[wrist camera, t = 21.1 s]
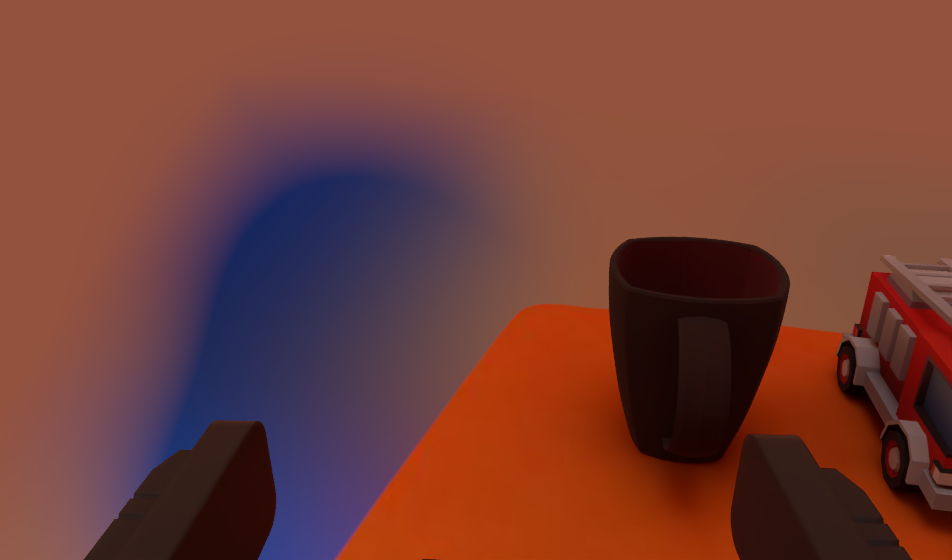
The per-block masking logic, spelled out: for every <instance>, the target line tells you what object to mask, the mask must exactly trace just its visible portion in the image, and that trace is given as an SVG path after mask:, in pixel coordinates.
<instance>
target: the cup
mask: <svg viewBox="0 0 952 560" xmlns="http://www.w3.org/2000/svg"><path fill="white" fill-rule="evenodd" d="M789 287H790V280H789V276H788V274H787V272H786V270H785V269H784V267H783V266H782V265H781V264H780V262H779V261H778V260H776V259H775V258H774V257H773V256H772V255H770V254H769V253H768V252H766V251H764V250H763V249H761V248H759V247H757V246H754V245H750V244H744V243H739V242H732V241H725V240H717V239H707V238H693V237H651V238H637V239H629V240H627V241H625V242H624V243H622V244H621V245H620V246H619V247H618V248H617V249H616V250H615V251H614V253H613V254H612V256H611V259H610V267H609V314H610V326H611V336H612V344H613V352H614V360H615V367H616V373H617V380H618V386H619V391H620V396H621V401H622V405H623V409H624V414H625V417H626V421H627V424H628V428H629V431H630V434H631V437H632V439H633V441H634V443H635V445H636V447H637V448H638V450H639V451H640V452H642V453H645V454H648V455H651V456H654V457H657V458H661V459H665V460H671V461H677V462H688V463H702V462H712V461H718V460H719V459H720V458H721V457H722V456H723V454H724V453H725V451H726V450H727V448H728V447H729V445H730V443H731V442H732V440H733V438H734V437H735V435H736V433H737V432H738V430H739V428H740V426H741V424H742V423H743V421H744V419H745V416H746V414H747V412H748V410H749V408H750V406H751V404H752V401H753V399H754V397H755V394H756V392H757V390H758V387H759V385H760V382H761V380H762V378H763V375H764V373H765V370H766V368H767V365H768V363H769V360H770V358H771V355H772V352H773V349H774V347H775V344H776V341H777V338H778V334H779V331H780V327H781V323H782V320H783V315H784V312H785V307H786V303H787V298H788V293H789Z"/></svg>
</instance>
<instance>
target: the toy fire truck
mask: <svg viewBox="0 0 952 560" xmlns="http://www.w3.org/2000/svg"><path fill="white" fill-rule="evenodd" d="M880 260H881V261H882V262H883V263H884V264H885V265H886V266H887V267H888V268H889V269H890V270H891V271H892V273H880V272H872V274H871V278H870V282H869V286H868V291H867V295H866V299H865V304H864V308H863V312H862V317H861V321H860V324H855V325H854V330H853V334H848V333H843V337H842V340H841V342H840V344H839V347H838V349H837V352H836V356H838V365H837V377H838V384H839V387H840V388H841V390H842V391H843V392H847V393H858V394H861V393H862V392H863V391H865V390H866V392H867V393H868V395H869V397H870V399H871V401H872V402H873V404H874V406H875V408H876V410H877V411H878V413H879V415H880V417H881V419H882V420H883V422H884V424H885V427H884V429H883V431H882V433H881V435H880V439H881V440H882V441H883V446H882V456H881V462H882V468H883V474H884V479H885V480H886V482H887V483H888V484H889V486H890V487H891V489H898V490H906V491H915V490H918V489H921V491H922V493H923V494H924V496H925V498H926V500H927V502H928V503H929V505H930V507H931V509H935V510H943V511H951V512H952V259H943V258H942V259H941V258H939V259H938V262H937V263H938V264H939V265H932V264H914V263H901V262H900V261H899V260H898V259H896V258H895V257H894V256H890V255H881V258H880ZM909 269H920V270H909ZM921 270H937V271H921ZM938 271H948V272H938Z"/></svg>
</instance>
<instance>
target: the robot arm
mask: <svg viewBox="0 0 952 560" xmlns="http://www.w3.org/2000/svg"><path fill="white" fill-rule="evenodd" d="M275 510H276V492H275V485H274V479H273V473H272V467H271V461H270V455H269V450H268V443H267V437H266V432H265V428H264V426H263V424H262V423H261V422H259V421H225V420H224V421H223V420H216V421H213V422H212V423H211V424H210V425H209V427H208V428H207V430H206V431H205V432H204V434H203V435H202V436H201V438H200V439H199V441H198V442H197V443H196V445H195V446H194V448H193V449H192V450H179V451H178V452H177V453H175V454H174V455H172V456H171V457H170V458H168V459H167V460H165V461H164V462H163V463H161V464H160V465H159V466H157V467H156V468H154V469H153V470H152V471H151V472H150V474H149V475H148V476H147V478H146V479H145V480H144V482H143V483H142V484H141V485H140V487H139V488H138V489H137V491H136V492H135V493H134V498H133V499H130V500H129V501H128V502H127V504H126V505H125V506H124V508H123V509H122V511H121V512H120V513H119V518H118V519H114V521H113V522H112V523H111V525H110V526H109V527H108V529H107V530H106V531H105V533H104V534H103V535H102V536H101V538H100V539H99V540H98V542H97V543H96V544H95V546H94V547H93V548H92V550H91V551H90V552H89V553H88V555H87V556H86V557H85V559H84V560H258V557H259V555H260V553H261V551H262V549H263V546H264V544H265V542H266V540H267V538H268V536H269V533H270V531H271V528H272V525H273V521H274V516H275ZM731 528H732V536H733V541H734V544H735V548H736V551H737V553H738V556H739V558H740V560H912V559H911V558H910V556H909V555H908V553H907V552H906V550H905V549H904V548H903V547H900V546H899V540H898V539H897V537H896V536H895V535H894V533H893V532H892V530H891V529H890V527H889V526H888V525H887V524H884V522H883V517H882V516H881V514H880V513H879V512H878V510H877V509H876V507H875V506H874V504H873V503H872V502H871V500H870V499H869V497H868V496H867V494H866V493H865V492H864V491H863V490H862V489H861V488H859V487H858V486H857V485H855V484H854V483H853V482H852V481H850V480H849V479H848V478H847V477H845V476H844V475H843V474H841V473H840V472H839V471H838V470H836V469H833V468H820V467H819V466H818V464H817V462H816V461H815V459H814V458H813V456H812V455H811V453H810V451H809V450H808V448H807V447H806V445H805V444H804V442H803V441H802V439H801V438H800V437H798V436H796V435H760V434H749V435H747V436H746V437H745V439H744V442H743V446H742V451H741V457H740V462H739V468H738V473H737V479H736V485H735V490H734V496H733V501H732V507H731Z"/></svg>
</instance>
